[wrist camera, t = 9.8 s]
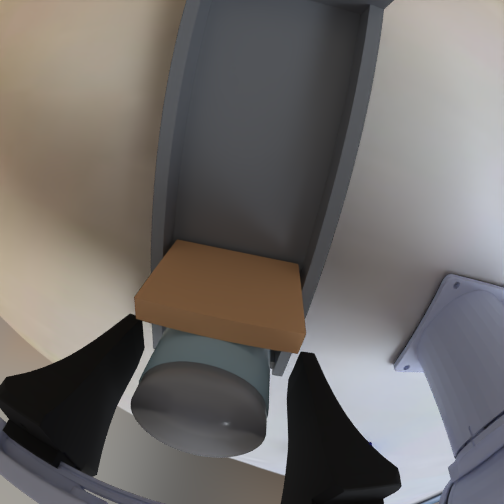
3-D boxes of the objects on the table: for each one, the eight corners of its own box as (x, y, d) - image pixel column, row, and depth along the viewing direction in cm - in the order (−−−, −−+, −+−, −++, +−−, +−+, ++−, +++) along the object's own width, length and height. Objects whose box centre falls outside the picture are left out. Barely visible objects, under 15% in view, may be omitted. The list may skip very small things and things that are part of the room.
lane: (378, 10, 8) (405, -16, 5) (285, 357, 18) (285, 399, 15) (202, -22, 8) (181, -53, 5) (158, 331, 18) (140, 368, 15)
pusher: (298, 264, 14) (306, 334, 9) (293, 281, 14) (297, 353, 10) (177, 239, 14) (134, 297, 9) (175, 257, 14) (135, 318, 10)
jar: (285, 296, 14) (291, 408, 8) (252, 363, 16) (241, 466, 10) (190, 263, 14) (132, 359, 7) (171, 336, 16) (128, 432, 9)
